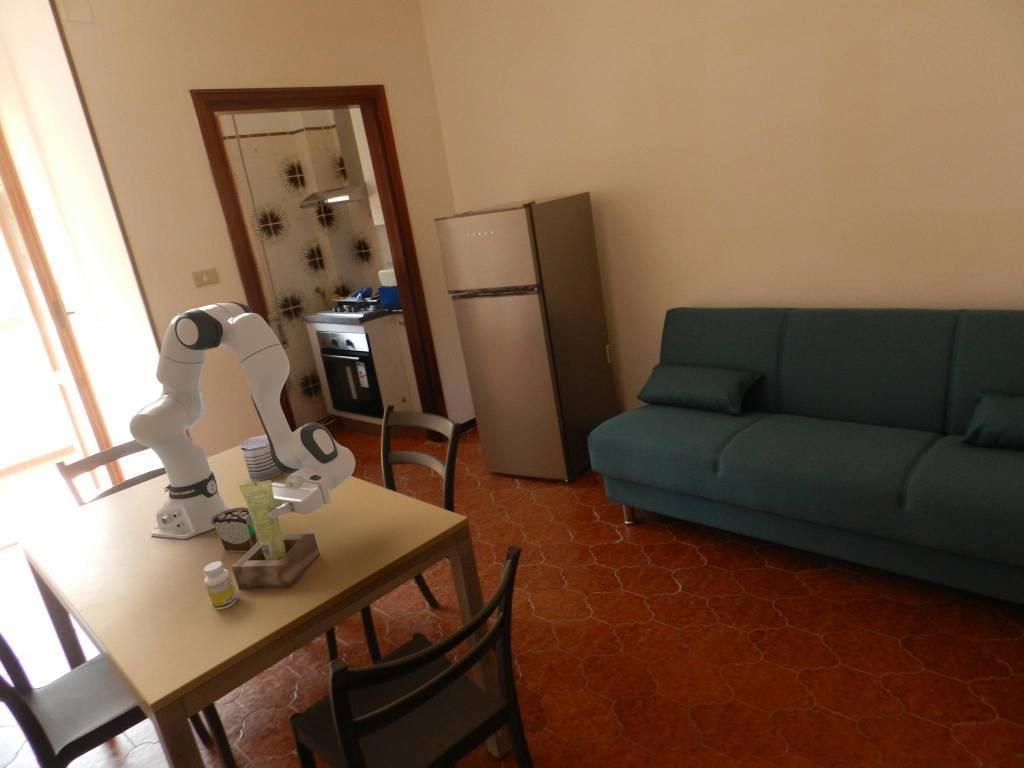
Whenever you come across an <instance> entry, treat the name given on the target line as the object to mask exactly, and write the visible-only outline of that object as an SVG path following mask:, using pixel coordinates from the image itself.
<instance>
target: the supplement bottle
mask: <svg viewBox="0 0 1024 768" xmlns="http://www.w3.org/2000/svg"><path fill="white" fill-rule="evenodd" d="M203 572H204V575H205V577H204V579H203V580H204V585H205V588H206V590H207V594H208V595H209V599H210V602H211V605H212V607H213V608H214V610H216V611H217V610H224V609H227V608H230V607H231V606H233V605H234V604H235V603H237V601H238V597H239V596H238V594H237V591H236V588H235V586H234V582H233V580H232V577H231V573H230V571H229V570H228V569H225V567H224V564H223V562H222V561H219V560H218V561H213V562H211V563H208V564H207V565H206V566H204V568H203Z"/></svg>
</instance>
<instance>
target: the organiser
mask: <svg viewBox="0 0 1024 768" xmlns="http://www.w3.org/2000/svg"><path fill="white" fill-rule="evenodd" d="M282 537H283V541H284V545H285V549H286V554H285V555H284V556H283V557H282V558H280V559H278V560H266V559H265V556H264V553H263V550H262V547H261V544H260V540H259V539H258V540H257V543H256V544H255V545H254V546H253V547H252V548H251V549H250V550H249V551H248V552H245V553H244V554H243V556H241V557H240V558H239V560H237V561H236V562H235V563H234V564H233V565H232V566H231V569H232V573H233V576H234V578H235V582H236V584H237V588H238V589H239V590H259V589H260V590H261V589H263V590H265V589H292V588H293V587H294V586H295V585H296V583H297V582H298V581H299V580H300V579H301V577H302V576H303V575H304V574H305V573H306V572H307V571H308V569H309V568H310V567H311V566H312V565H313V563H315V561H316V560H317V559H318V558H319V557H320V555H321V553H320V550H319V546H318V542H317V540H316V536H315V533H314V532H313V533H294V534H282Z"/></svg>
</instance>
